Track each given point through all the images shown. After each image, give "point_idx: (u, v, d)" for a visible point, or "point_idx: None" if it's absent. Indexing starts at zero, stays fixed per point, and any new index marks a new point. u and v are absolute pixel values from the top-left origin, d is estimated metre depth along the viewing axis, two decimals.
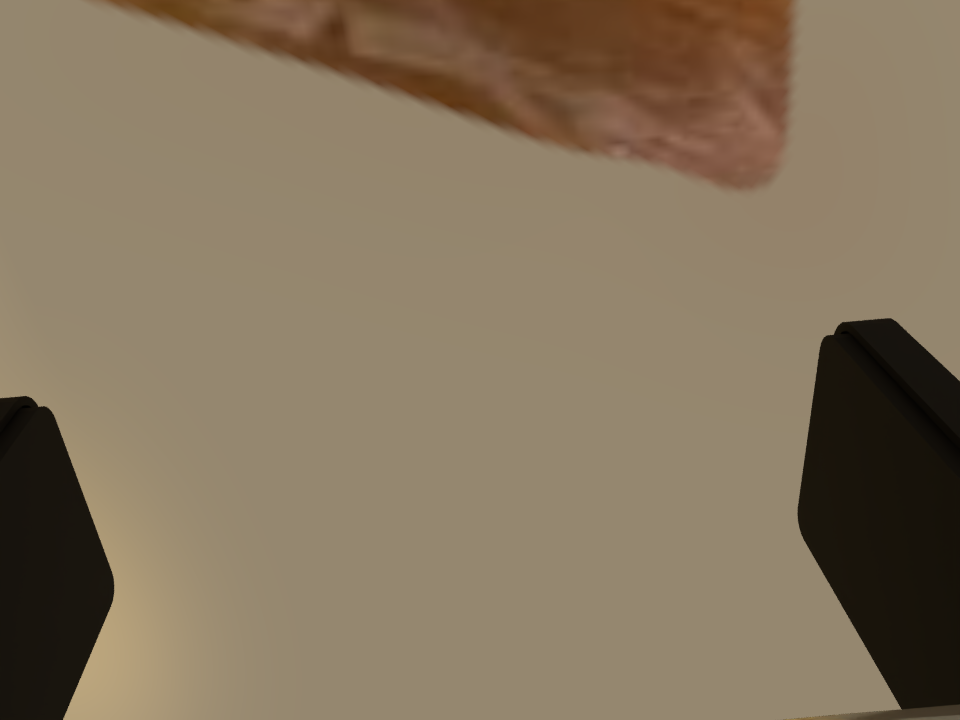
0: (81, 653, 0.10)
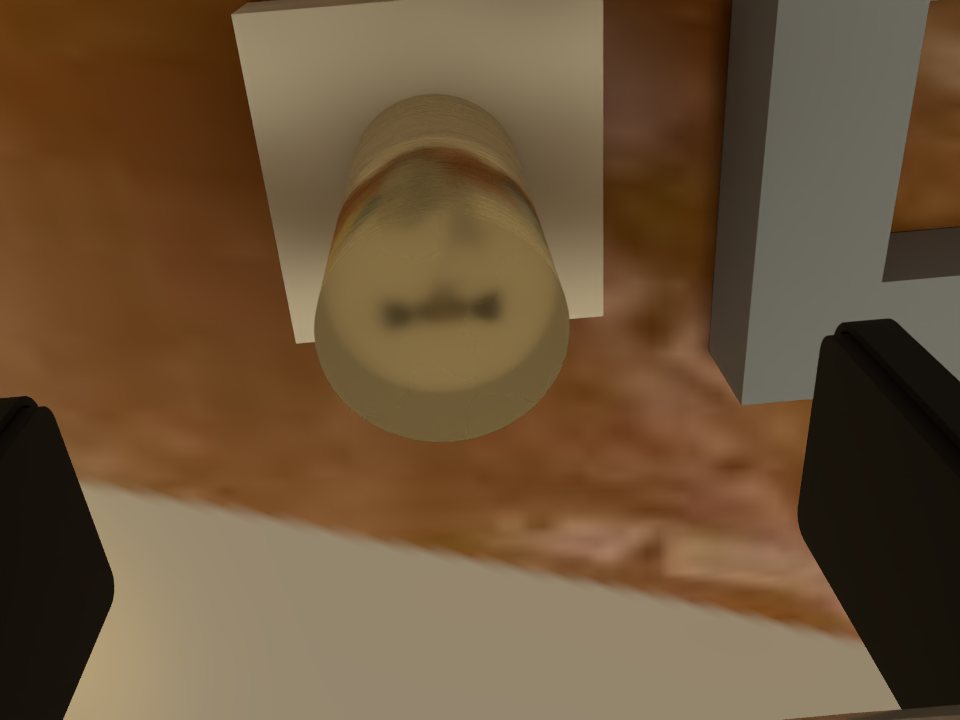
0: (81, 653, 0.10)
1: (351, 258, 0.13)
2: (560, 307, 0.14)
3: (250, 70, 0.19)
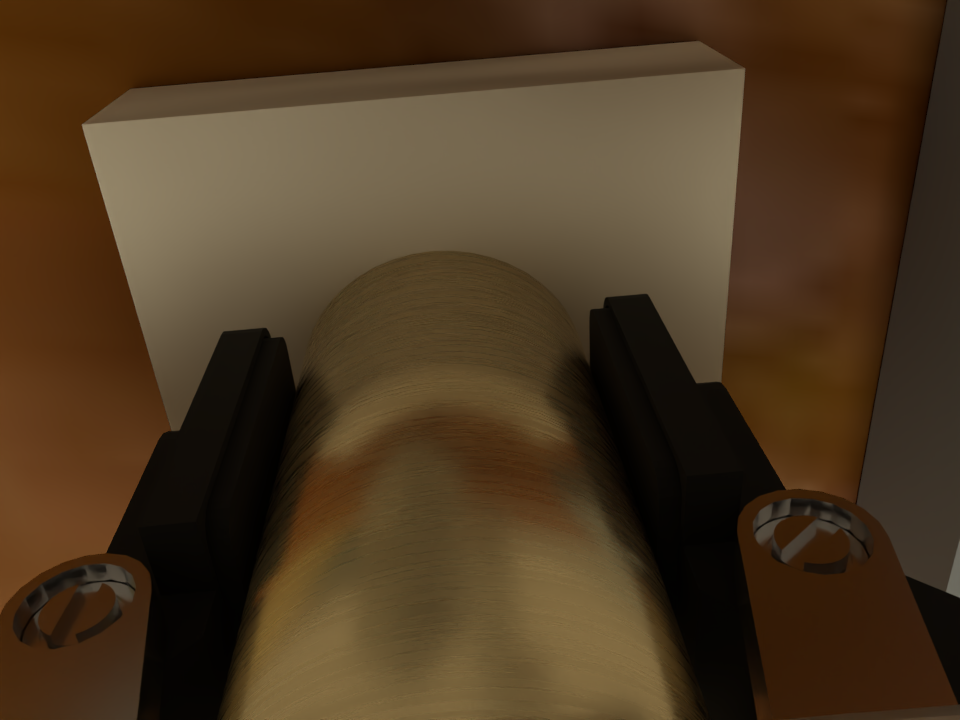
0: None
1: None
2: None
3: (123, 216, 0.11)
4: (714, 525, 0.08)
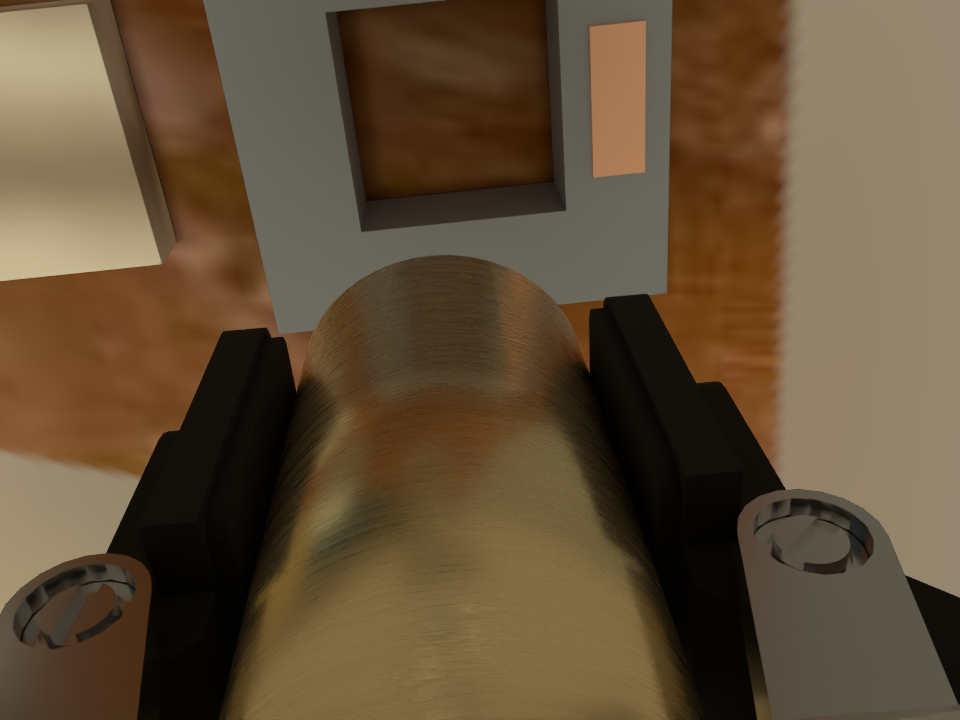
0: None
1: None
2: None
3: None
4: (714, 525, 0.08)
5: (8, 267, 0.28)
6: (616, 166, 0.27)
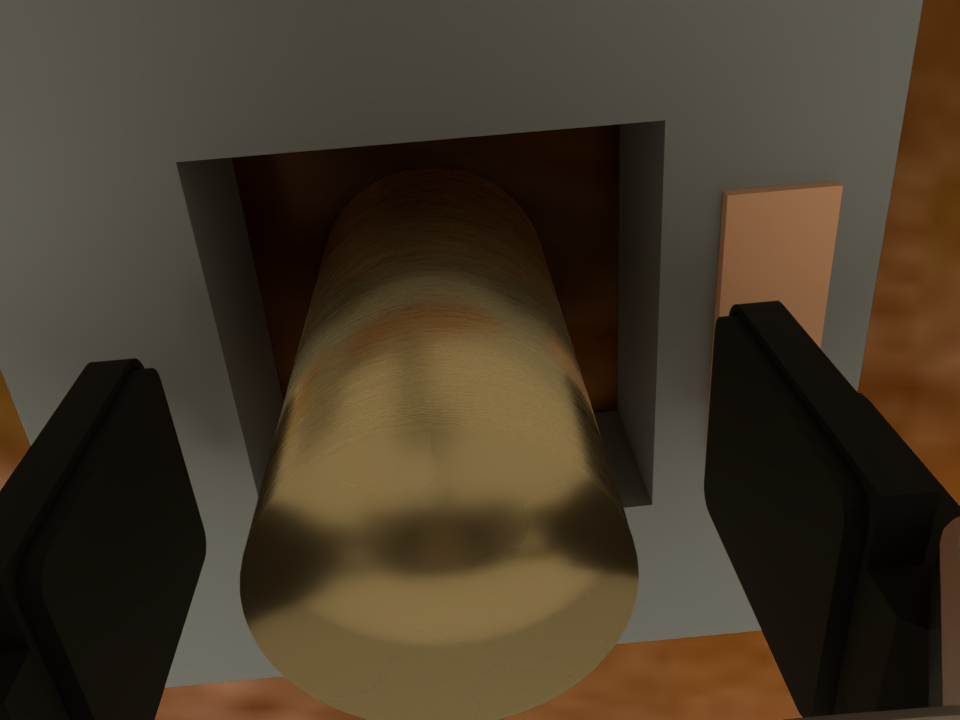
0: (184, 602, 0.11)
1: (296, 492, 0.08)
2: (625, 554, 0.09)
3: None
4: (902, 548, 0.07)
5: None
6: None
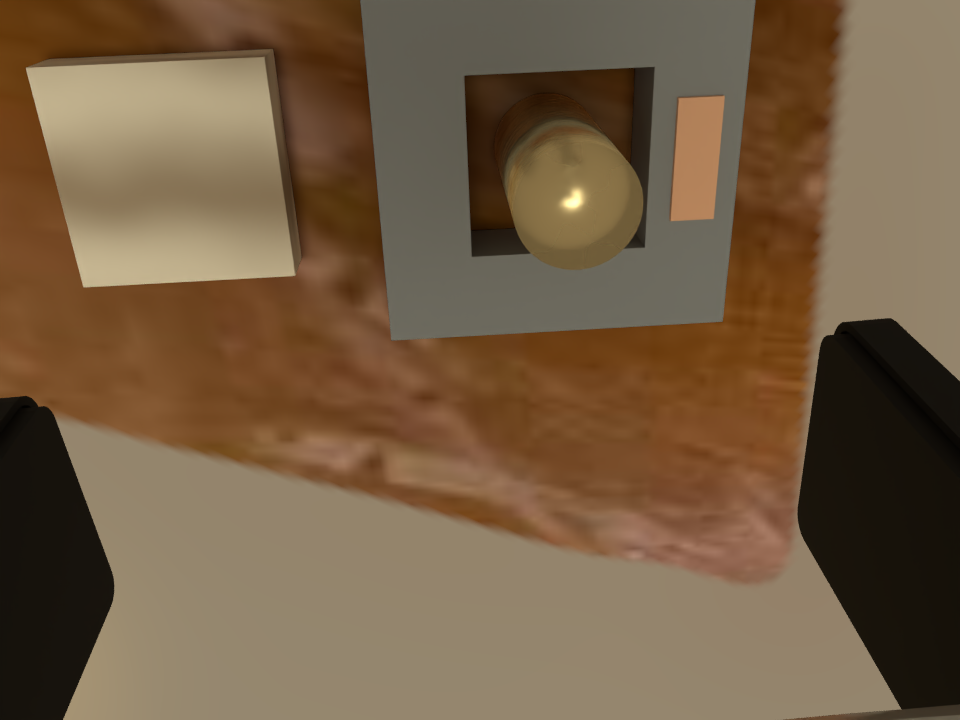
0: (81, 653, 0.10)
1: (538, 164, 0.26)
2: (639, 195, 0.26)
3: (40, 103, 0.30)
4: None
5: (164, 272, 0.33)
6: (690, 212, 0.32)
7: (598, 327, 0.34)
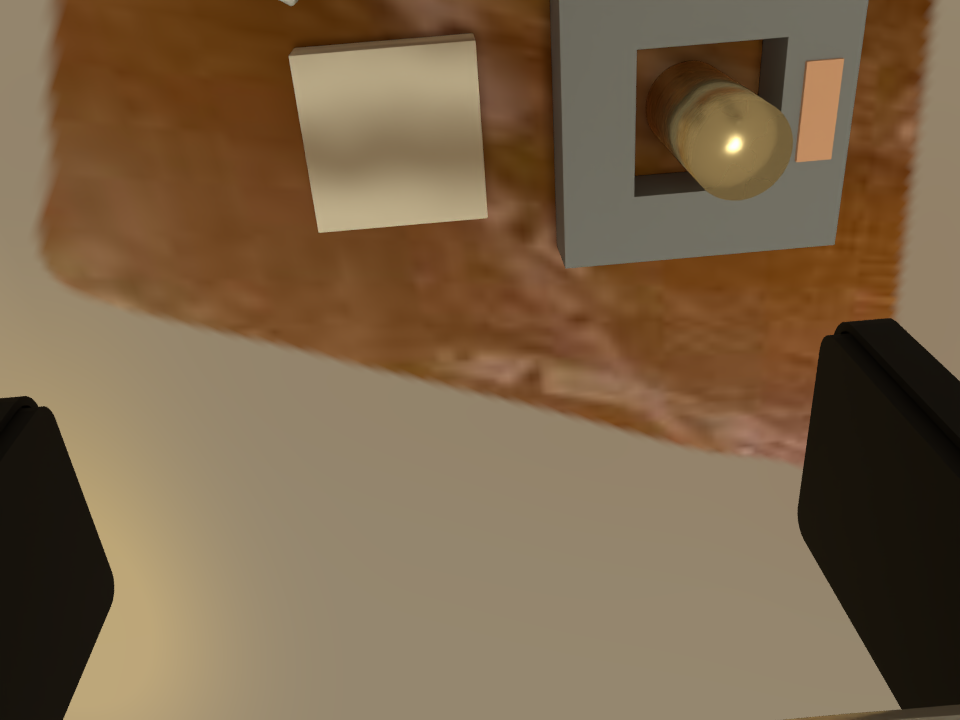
0: (81, 653, 0.10)
1: (713, 117, 0.33)
2: (790, 139, 0.34)
3: (297, 83, 0.38)
4: None
5: (383, 218, 0.41)
6: (812, 155, 0.39)
7: (733, 252, 0.42)
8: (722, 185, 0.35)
